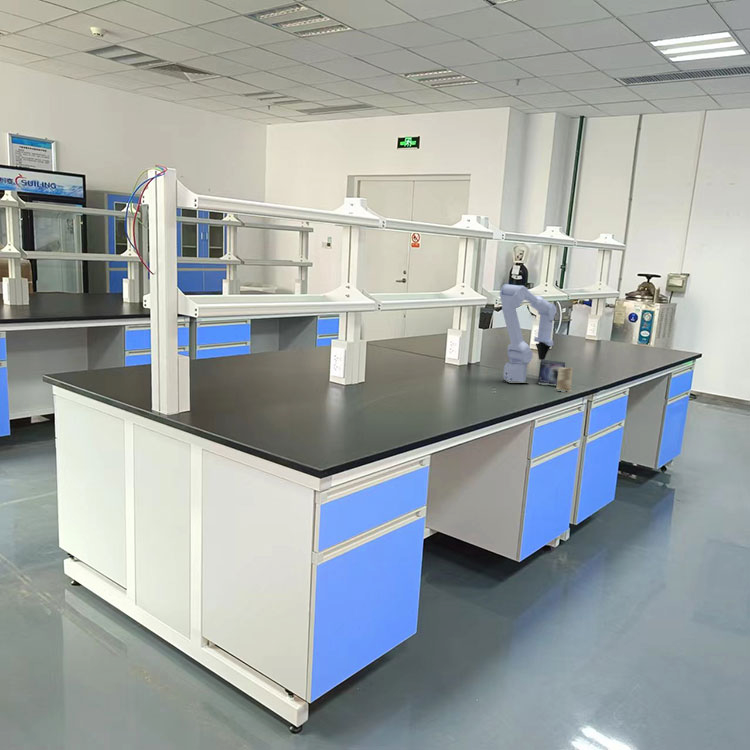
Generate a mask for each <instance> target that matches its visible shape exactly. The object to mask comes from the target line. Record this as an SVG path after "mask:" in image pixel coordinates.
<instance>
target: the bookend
mask: <svg viewBox="0 0 750 750" xmlns="http://www.w3.org/2000/svg"><path fill="white" fill-rule="evenodd" d="M573 373H574V368H573V367H565V368H559V370H558V378H557V386H556V387H555V390H556V389H562V390H565V391H572V392H573V390H572V389H571V388H572V381H573V380H572V379H573Z"/></svg>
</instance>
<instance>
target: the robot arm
mask: <svg viewBox="0 0 750 750" xmlns="http://www.w3.org/2000/svg"><path fill="white" fill-rule="evenodd" d="M498 294H499V297H500V301H501V311H502V314H503V319H504V322H505V325H506V329H507V335H508V336H509V337H508V338H509V341H510V343H509V344H508V345H507V348H506V349H507V357H508V359H509V362H505V364H504V367H503V373H502V374H503V375H502V376H503V377H502V379H503V378H504V379H506V380H508V381H519V382H524V381H526V378H527V371H528V370H527V369H528V365H529V364H530V362H531V361H532V360H533V357H534V356H533V354H534V353H533V350H531V348H530V345H529V344H528V343H526V341H524V337H523V333H522V329H521V326H520V321H519V317H518V312H517V309H518V308H520V307H521V304H522V303H523V302H524V300H525V301H526V302H528V303H530V307H531V308H533V310H535V311H537V313H538V315H539V323H538V331H537V336H535V337H534V339H533V341H534V342H536V343H535V347H536V349H537V350H536V351H537V354H538V355H537V356H538V359H539V360H540V361H541V360H546V357H547V354H548V352H549V350H550V348H551V347H553V346H554V340H553V339H551V338H552V329H553V321H554V319H555V316H556V314H557V311H558V310H557V307H556V304H555V303H550V302H549V300H547V299H544V296H542V295H535V294H533V293H532V292H531V291H530V290H529V289H528V287H526V286H525V285H516V284H510V283H509V284H508V283H505V284H503V285H502V287H501V289H500V292H499V293H498ZM526 382H527V381H526Z"/></svg>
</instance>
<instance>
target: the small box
mask: <svg viewBox="0 0 750 750" xmlns="http://www.w3.org/2000/svg"><path fill="white" fill-rule="evenodd" d="M559 368H566V362H563V361H557V360H556V361H555V360H549V359H547V360H546V359H544V360H540V364H539V373H538V374H539V375H538V381H537V383H538V382H540V383H549V384H556V385H557V378H558V370H559Z"/></svg>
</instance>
